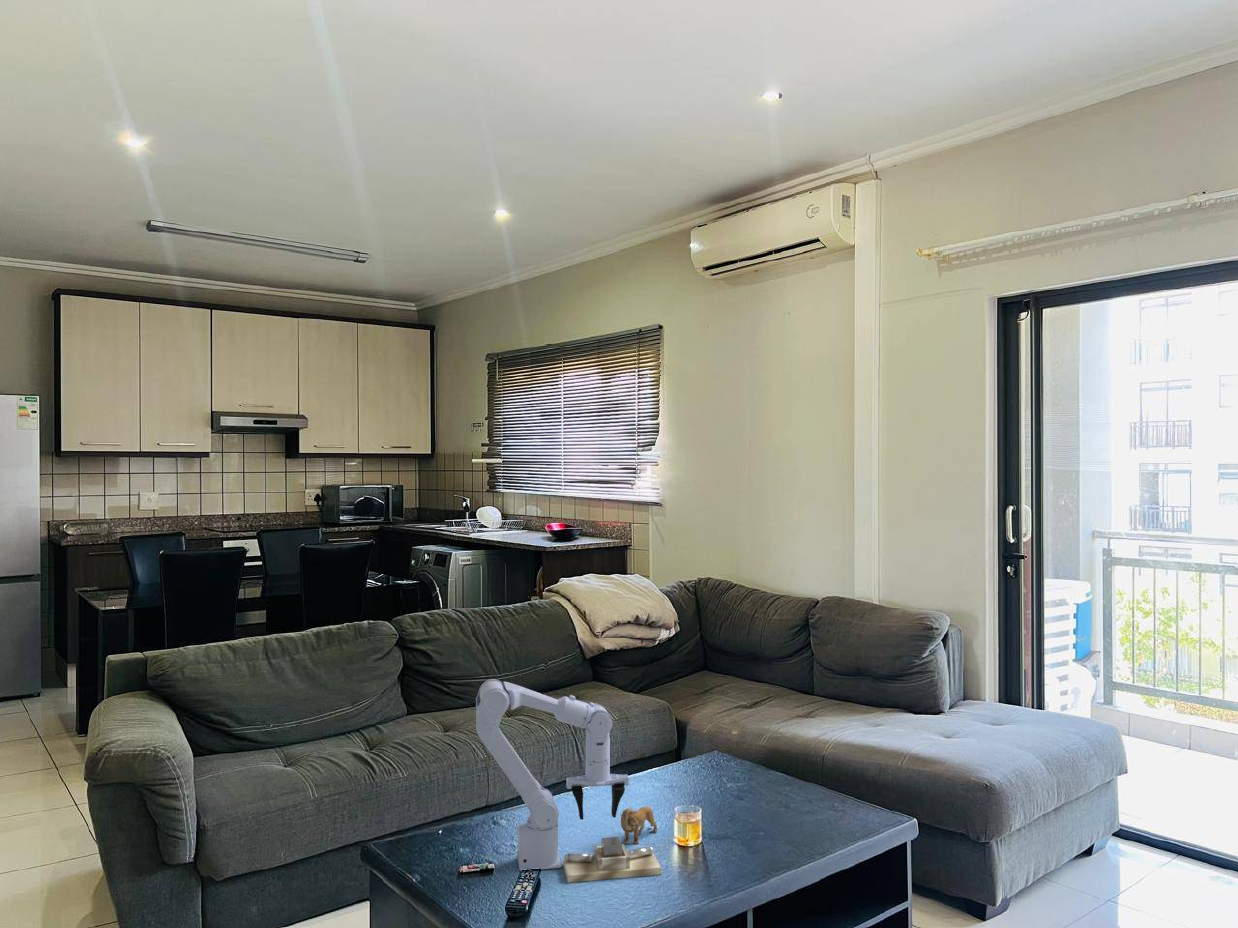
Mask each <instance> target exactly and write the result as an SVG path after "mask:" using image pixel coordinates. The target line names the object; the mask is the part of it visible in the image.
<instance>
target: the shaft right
mask: <svg viewBox="0 0 1238 928" xmlns="http://www.w3.org/2000/svg"><path fill="white" fill-rule="evenodd" d="M654 850H655V848H653V847H652V846H651V845H650V846H646V847H640V848H635V849H632V850H627V852H628V854H629V856H630V859H634V858H638V857H643V856H648V855H652V854H653V853H654Z"/></svg>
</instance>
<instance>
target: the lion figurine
mask: <svg viewBox="0 0 1238 928" xmlns="http://www.w3.org/2000/svg"><path fill="white" fill-rule="evenodd" d="M646 821H647V822H648V823H649V824H650V827H653V829H652V830H651V832H652V833H654V834H656V833H658V827H657V826H658V825H657V822H656V821H655V818H654V813H653V809H652V808H651V807H650V806H643V807H640V808H639V809H638V810H637V811H636V810H635V809H632V808H631V807H629V808H626V809H624V810H623V811H622V812H621V814H620V826H621V828H622V830H623V831H624V836H625V838H624V839H623V843H628V842H629V841H630V834H632V833H634V837H633V844H634V845H639V843H640V841H639V834H642V833H643V832H644V831H643V830H644V828H645V822H646Z"/></svg>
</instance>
